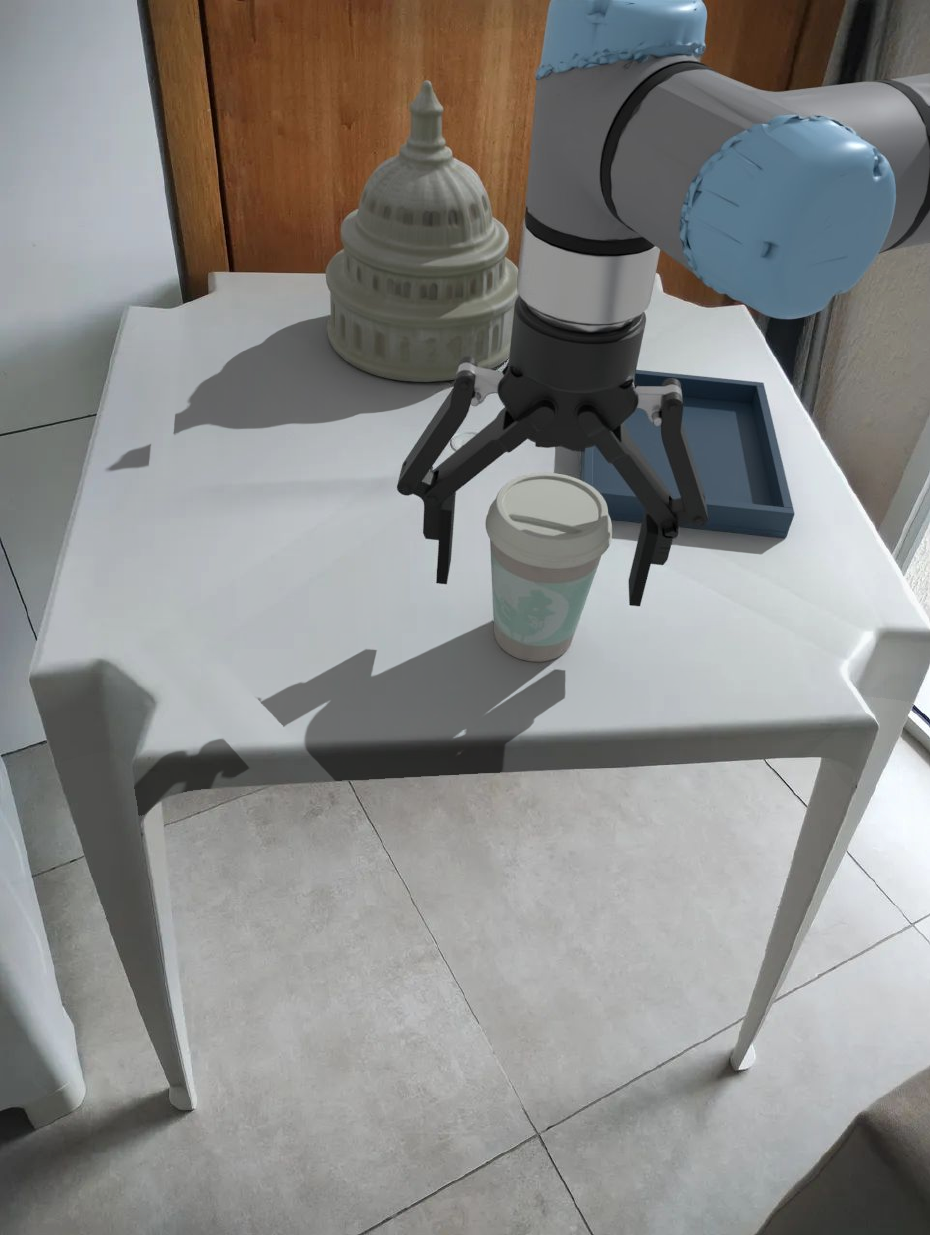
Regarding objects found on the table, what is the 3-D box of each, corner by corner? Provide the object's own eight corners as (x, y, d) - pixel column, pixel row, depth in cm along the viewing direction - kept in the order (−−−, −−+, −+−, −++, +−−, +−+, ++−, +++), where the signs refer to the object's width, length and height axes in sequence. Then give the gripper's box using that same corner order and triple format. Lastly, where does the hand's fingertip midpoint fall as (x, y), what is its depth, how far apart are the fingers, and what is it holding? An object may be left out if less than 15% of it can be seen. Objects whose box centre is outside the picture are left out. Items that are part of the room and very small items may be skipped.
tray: (786, 538, 85) (794, 513, 83) (579, 516, 85) (583, 491, 84) (756, 405, 101) (763, 382, 99) (582, 387, 101) (585, 364, 99)
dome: (565, 117, 84) (324, 116, 81) (534, 381, 101) (334, 388, 98) (517, 51, 99) (310, 47, 95) (497, 292, 116) (321, 296, 113)
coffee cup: (452, 627, 74) (460, 497, 66) (533, 581, 79) (551, 453, 71) (532, 694, 70) (552, 563, 62) (614, 641, 74) (643, 512, 66)
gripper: (794, 294, 59) (710, 567, 73) (373, 250, 60) (373, 529, 74) (813, 358, 53) (718, 639, 68) (350, 308, 54) (355, 597, 69)
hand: (538, 582), depth 71 cm, fingers open, 13 cm apart
